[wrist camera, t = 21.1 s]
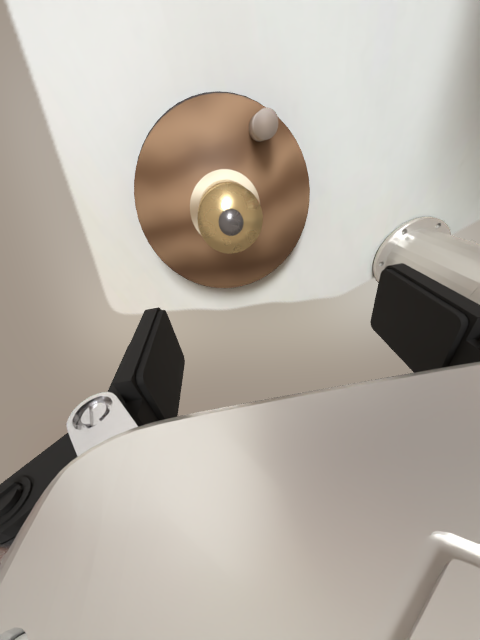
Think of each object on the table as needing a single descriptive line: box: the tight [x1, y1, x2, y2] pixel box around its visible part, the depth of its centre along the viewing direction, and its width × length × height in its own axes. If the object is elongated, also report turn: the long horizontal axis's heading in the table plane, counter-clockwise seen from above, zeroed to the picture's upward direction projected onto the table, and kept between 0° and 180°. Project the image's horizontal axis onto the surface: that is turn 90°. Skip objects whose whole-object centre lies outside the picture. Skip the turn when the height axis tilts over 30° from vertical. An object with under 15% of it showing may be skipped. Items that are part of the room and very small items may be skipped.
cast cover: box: [197, 179, 263, 254], centre depth 27 cm, size 7×7×7 cm
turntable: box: [134, 93, 310, 288], centre depth 29 cm, size 22×22×6 cm
